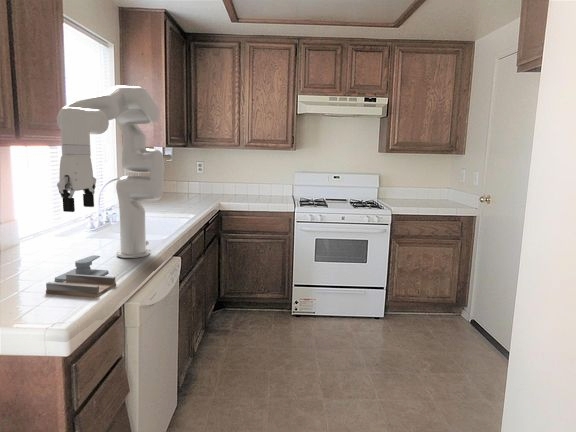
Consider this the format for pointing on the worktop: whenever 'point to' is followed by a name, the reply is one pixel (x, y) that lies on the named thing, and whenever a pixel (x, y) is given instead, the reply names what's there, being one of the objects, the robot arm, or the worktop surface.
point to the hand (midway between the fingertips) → (79, 209)
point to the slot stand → (81, 285)
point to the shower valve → (83, 269)
